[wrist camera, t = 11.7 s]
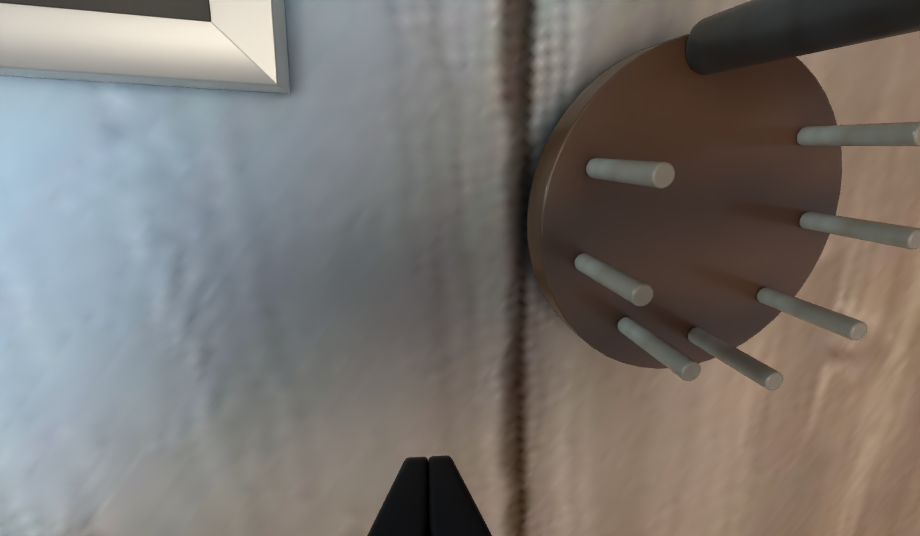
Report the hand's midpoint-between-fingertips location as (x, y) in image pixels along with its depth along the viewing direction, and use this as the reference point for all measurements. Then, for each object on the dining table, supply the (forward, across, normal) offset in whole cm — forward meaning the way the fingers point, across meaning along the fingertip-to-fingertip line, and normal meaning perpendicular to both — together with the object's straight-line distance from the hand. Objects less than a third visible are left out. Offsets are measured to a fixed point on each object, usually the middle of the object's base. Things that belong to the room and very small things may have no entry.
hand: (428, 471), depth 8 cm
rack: (+11, -10, -2) cm, 15 cm away
